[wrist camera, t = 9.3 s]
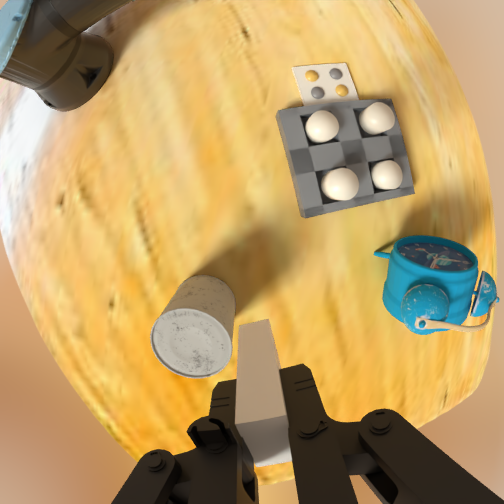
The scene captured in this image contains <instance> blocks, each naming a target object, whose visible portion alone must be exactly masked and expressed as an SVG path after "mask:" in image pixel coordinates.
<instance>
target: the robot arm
mask: <svg viewBox="0 0 504 504" xmlns="http://www.w3.org/2000/svg"><path fill="white" fill-rule="evenodd" d="M131 1H135V0H9V1H8V2H7V3H6V4H5V5H4V6H3V7H2V8H1V10H0V78H3V79H6V80H9V81H11V82H14V83H17V84H20V85H22V86H25V87H28V88H30V89H33V90H35V92H36V93H37V94H38V95H39V97H40V98H41V99H42V100H43V101H44V103H45V104H46V105H47V106H49V107H50V108H52V109H55V110H58V111H70V110H73V109H76V108H78V107H80V106H81V105H83V104H84V103H86V102H87V101H88V100H89V99H91V98H92V97H93V96H94V95H95V94H96V93H97V91H98V90H99V89H100V88H101V86H102V85H103V83H104V82H105V80H106V79H107V77H108V75H109V73H110V70H111V67H112V63H113V50H112V48H111V46H110V45H109V43H108V42H107V41H106V40H105V39H103V38H102V37H100V36H98V35H93V34H89V33H86V32H83V31H85V30H86V29H88V28H89V27H91V26H92V25H93V24H95V23H96V22H98V21H99V20H101V19H102V18H104V17H106V16H107V15H109V14H110V13H112V12H114V11H115V10H117V9H119V8H120V7H122V6H124V5H126V4H127V3H129V2H131ZM211 400H212V401H211V405H210V407H211V408H210V412H209V416H205V417H201V418H200V419H198V420H196V421H194V422H193V423H192V424H191V425H190V426H189V428H188V430H187V433H188V435H189V436H190V438H191V439H192V441H193V442H194V444H195V445H196V448H195V449H193V450H190V451H188V452H184V453H181V454H177V455H174V456H173V455H172V454H171V453H170V452H168V451H166V450H161V449H157V450H153V451H150V452H148V453H146V454H145V455H144V456H143V457H142V458H141V459H140V460H139V462H138V463H137V465H136V466H135V468H134V470H133V471H132V473H131V474H130V476H129V478H128V479H127V480H126V482H125V484H124V485H123V486H122V488H121V490H120V491H119V492H118V494H117V496H116V497H115V499H114V500H113V502H112V503H111V504H259V496H258V479H257V476H256V474H255V472H254V463H255V465H256V467H260V466H267V465H273V464H279V463H284V462H289V461H292V463H293V469H294V475H295V481H296V487H297V494H298V500H299V504H358V502H357V498H356V495H355V492H354V489H353V486H352V484H351V480H350V477H349V475H360V476H361V477H362V479H363V480H364V481H365V482H366V484H367V485H368V486H369V487H370V489H371V490H372V491H373V492H374V493H375V494H376V496H377V497H378V498H379V499H380V501H381V502H382V503H383V504H504V500H502V499H501V498H500V497H498V496H497V495H496V494H495V493H493V492H492V491H491V490H490V489H488V488H487V487H486V486H484V485H483V484H482V483H481V482H480V481H478V480H477V479H476V478H474V477H473V476H472V475H471V474H469V473H468V472H467V471H466V470H465V469H464V468H462V467H461V466H460V465H459V464H457V463H456V462H455V461H454V460H452V459H451V458H450V457H449V456H448V455H447V454H445V453H444V452H443V451H442V450H441V449H439V448H438V447H437V446H436V445H435V444H433V443H432V442H431V441H430V440H429V439H427V438H426V437H425V436H424V435H423V434H422V433H420V432H419V431H418V430H417V429H416V428H415V427H414V426H412V425H411V424H410V423H409V422H408V421H407V420H405V419H404V418H403V417H402V416H401V415H400V414H399V413H397V412H395V411H393V410H390V409H378V410H374V411H372V412H370V413H368V414H367V415H365V416H364V417H363V418H362V420H361V421H360V422H338V421H335V420H333V419H331V418H330V417H329V416H328V415H327V414H326V412H325V410H324V407H323V404H322V401H321V398H320V395H319V392H318V390H317V387H316V384H315V381H314V378H313V375H312V372H311V370H310V369H309V368H308V367H307V366H305V365H304V364H299V365H295V366H291V367H287V368H283V369H281V366H280V361H279V357H278V353H277V349H276V346H275V342H274V338H273V334H272V330H271V326H270V322H269V319H266V320H262V321H257V322H253V323H249V324H244V325H240V326H239V338H238V360H237V379H234V380H228V381H222V382H218V384H217V385H216V387H215V388H214V389H213V392H212V398H211Z"/></svg>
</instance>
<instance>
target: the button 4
mask: <svg viewBox="0 0 504 504" xmlns="http://www.w3.org/2000/svg"><path fill="white" fill-rule="evenodd" d="M369 171H370V175H371V180H372V185H373V186H374V187H375V188H377V189H396V188H398V187H399V186H400V184H401V182H402V179H403V174H402V170H401V168H400V166H399V165H398V164H397V163H396V162H394V161H391V160H388V161H383V162H378V163H374V164H373V165H372V166H371V167H370V168H369Z"/></svg>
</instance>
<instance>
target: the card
mask: <svg viewBox="0 0 504 504" xmlns="http://www.w3.org/2000/svg"><path fill="white" fill-rule="evenodd" d="M292 72H293V75H294V78H295V81H296V84H297V87H298V90H299V93H300V96H301V99H302V102H303V106H309V105H316V104H324V103H333V102H343V101H355V100H359V98H358V95H357V92H356V89H355V86H354V84H353V81H352V78H351V75H350V73H349V70H348V68H347V65H346V63H337V64H320V65H308V66H299V67H292Z"/></svg>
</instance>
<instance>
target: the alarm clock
mask: <svg viewBox="0 0 504 504" xmlns="http://www.w3.org/2000/svg"><path fill="white" fill-rule="evenodd" d="M374 255H375V256H378V257H383V258H388V259H389V266H388V274H387V279H386V281H385V283H384V290H383V303H384V305H385V307H386V309H387V310H388V311H389V312H390V313H391V315H392V316H394V317H395V318H396V319H398V320H399V321H401V322H403V323H404V324H405V325H406V327H407V328H408V329H409V330H410V331H412V332H414V333H416V334H420V335H427V334H431V333H433V332H435V331H447V330H456V331H462V332H475V331H479V330H481V329H483V328H484V327H485V326H486V325H487V324H488V322H489V319H490V312H491V309H492V308H493V307H494V305H495V303H497V302H499V298H498V297H497V293H496V285H495V282H494V280H493V278H492V277H491V276H490V275H489V274H488V273H487V272H485V271H482V274H481V277H480V280H479V284H478V287H477V291H474V288H475V285H476V281H477V277H478V267H477V266H478V260H477V257H476V256H475V254H474V253H473V252H472V251H471V250H469V249H468V248H466V247H465V246H463V245H461V244H459V243H456V242H454V241H451V240H448V239H444V238H440V237H434V236H423V235H418V236H408V237H404V238H401V239H399V240H398V241H397V242H395V244H394V247H393V250H392V251H391V253H385V252H374ZM473 294H475V298H474V302H473V306H472V310H471V315H470V316H474V317H478V316H482V315H484V314H486V313H487V312H488V314H487V319H486V321H485V322H484V323H483V324H481V325H478V326H462V325H461V324H462V323H463V322H464V321H465V319H466V318H467V315H468V312H469V310H470V307H471V302H472V299H471V298H472V295H473Z"/></svg>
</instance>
